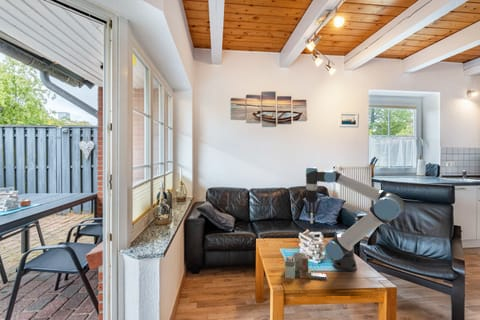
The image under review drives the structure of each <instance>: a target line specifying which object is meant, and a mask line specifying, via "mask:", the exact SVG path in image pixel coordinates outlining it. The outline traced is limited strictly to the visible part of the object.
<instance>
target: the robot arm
mask: <svg viewBox="0 0 480 320" xmlns="http://www.w3.org/2000/svg"><path fill="white" fill-rule="evenodd" d="M318 183H328V184H330V183H336V184H338V185H340V186H343V187H345V188H346V189H349V190H350V191H353V192H355V193H357V194H359V195H361V196H363V197H365V198H368V199H370V200H371V201H373V202H375V203H374V204H372V205H371V206H370V207H369V212H367V213H366V214H365V215H364V216H363V217H361V218H360V219H359V220H358V221H356V222H355V223H354V224H353V225H352V226H351V225H350V227H349V228H347V229H346V230H345V231H341V230H340V231H335V234H334V235H335V236H334V237H332V238H331V239H330V240H328V241H327V242H326V244H325V245H324V251H325V253H326V255H327V257H329V258H330V259H332V266H333V267H334V268H336V269H338V270H342V271H345V272H353V271H356V270H357V269H358V266H357V261H356V259H355V245H356V244H357V243H358V242H360V241H361V240H362V239H363V238H365V237H366V236H368V235H369V234H370V233H371V232H373V231H374V230H375V229H377V228H378V227H379V226H381V225H382V224H383V225H387V224H388V223H390V222H391V221H392V220H395V219H396V218H397V217H399V216H400V214H401V213H402V212H404V209H405V203H404V200H403V199H402V198H401V197H400V196H398V195H396V194H395V193H391V192H389V191H387V190H384V189H382V190H380V189H378V188H376V187H374V186H371V185H369V184H367V183H364V182H362V181H360V180H358V179H356V178H354V177H351V176H349V175H347V174H345V173H342V172H341V171H340V170H338V169H332V170H331V169H330V170H318V167H309V166H308V167H306V169H305V189H306V190H305V197H304V198H302V202H303V204H304V208H305V211H306V212H305V213H306V214H308V218H309V220H310V224H314V219H315V216H316V214H318V212H319V207H320V203H321V202H322V199H320V198H319V196H318ZM306 202H308V207H307V203H306ZM311 204H312V205H311ZM315 204H316V206H315ZM311 206H312V207H311ZM311 211H312V212H311Z"/></svg>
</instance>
